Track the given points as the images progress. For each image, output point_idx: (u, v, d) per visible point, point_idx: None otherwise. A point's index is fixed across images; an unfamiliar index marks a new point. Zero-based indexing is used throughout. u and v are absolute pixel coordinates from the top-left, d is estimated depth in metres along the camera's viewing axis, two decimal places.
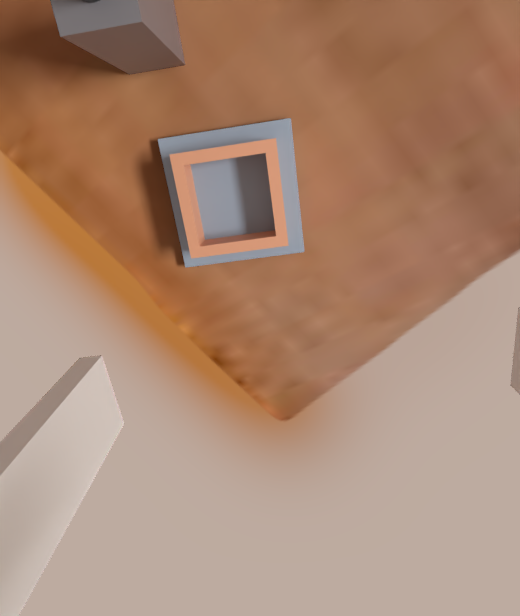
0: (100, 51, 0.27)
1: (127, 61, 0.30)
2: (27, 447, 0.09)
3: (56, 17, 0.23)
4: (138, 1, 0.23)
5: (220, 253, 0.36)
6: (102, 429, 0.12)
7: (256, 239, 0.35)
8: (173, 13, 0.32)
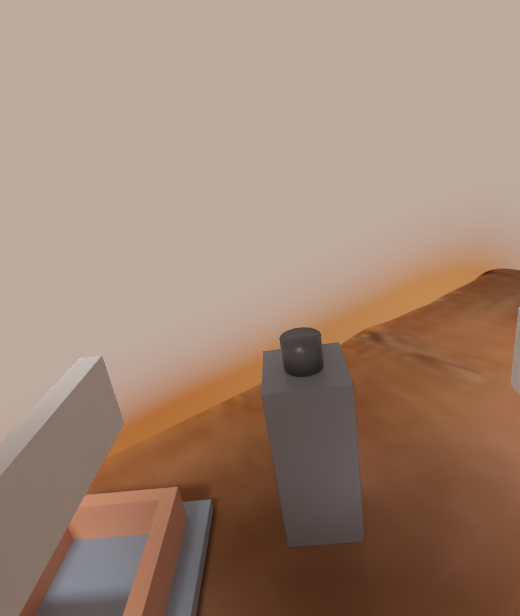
0: None
1: None
2: (27, 447, 0.09)
3: (277, 350, 0.26)
4: (280, 395, 0.22)
5: None
6: (102, 429, 0.12)
7: None
8: (338, 531, 0.25)
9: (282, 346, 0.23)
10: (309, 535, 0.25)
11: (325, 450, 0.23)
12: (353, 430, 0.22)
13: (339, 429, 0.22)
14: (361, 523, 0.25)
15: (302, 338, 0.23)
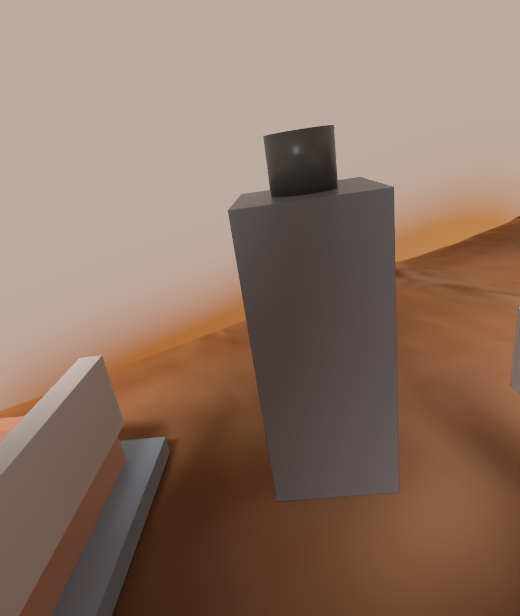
0: None
1: None
2: (27, 447, 0.09)
3: (263, 191, 0.17)
4: (262, 212, 0.12)
5: None
6: (102, 429, 0.12)
7: None
8: (358, 474, 0.16)
9: (267, 143, 0.13)
10: (311, 481, 0.16)
11: (340, 325, 0.13)
12: (389, 284, 0.13)
13: (364, 283, 0.13)
14: (395, 461, 0.15)
15: None
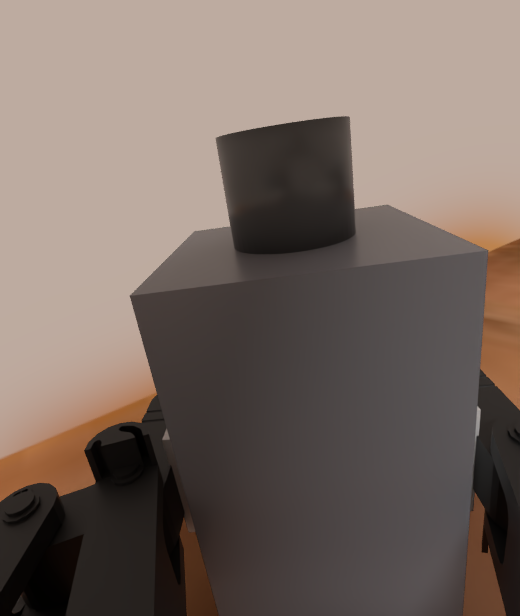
0: None
1: None
2: None
3: (229, 227, 0.10)
4: (202, 299, 0.06)
5: None
6: None
7: None
8: None
9: (222, 152, 0.07)
10: None
11: (363, 499, 0.07)
12: (463, 434, 0.06)
13: (413, 431, 0.06)
14: None
15: None
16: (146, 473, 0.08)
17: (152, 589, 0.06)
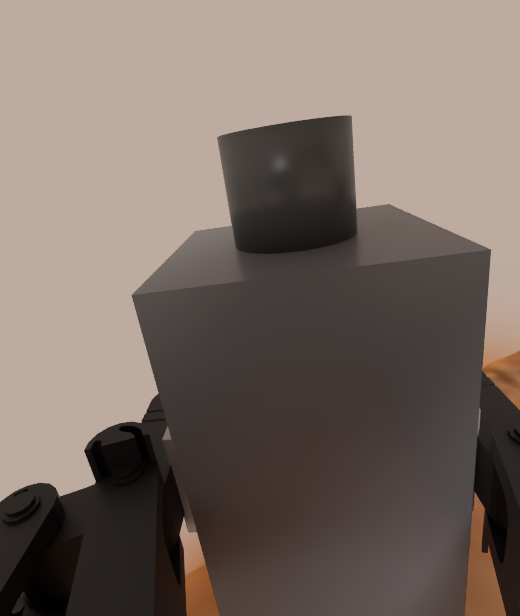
0: None
1: None
2: None
3: (230, 226, 0.10)
4: (204, 299, 0.06)
5: None
6: None
7: None
8: None
9: (223, 151, 0.07)
10: None
11: (365, 499, 0.07)
12: (465, 434, 0.06)
13: (415, 430, 0.06)
14: None
15: None
16: (146, 473, 0.08)
17: (152, 589, 0.06)
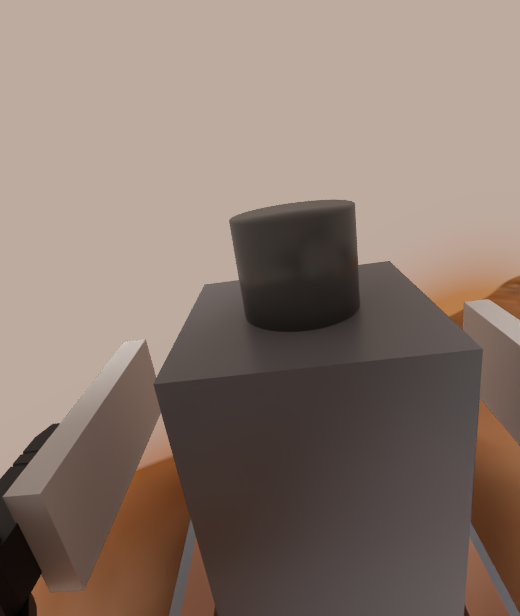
0: None
1: None
2: (94, 418, 0.10)
3: (238, 281, 0.11)
4: (220, 388, 0.06)
5: (197, 544, 0.14)
6: (147, 408, 0.13)
7: None
8: None
9: (235, 236, 0.07)
10: None
11: (367, 559, 0.07)
12: (460, 503, 0.07)
13: (414, 500, 0.07)
14: None
15: (298, 212, 0.07)
16: None
17: None
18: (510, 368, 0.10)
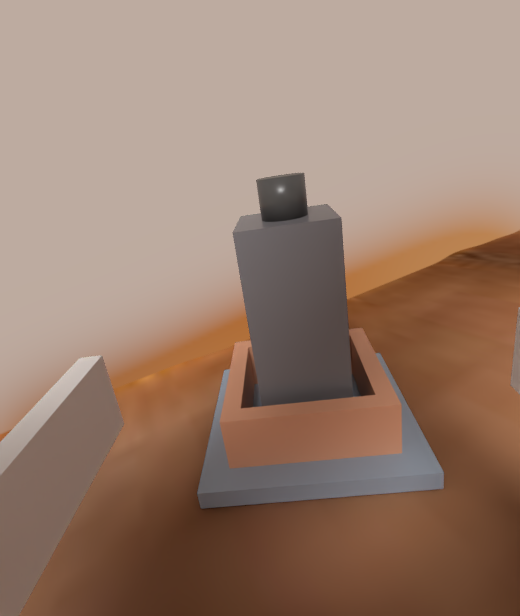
0: None
1: None
2: (27, 447, 0.09)
3: (256, 214, 0.23)
4: (255, 233, 0.18)
5: (233, 361, 0.26)
6: (102, 429, 0.12)
7: (241, 390, 0.22)
8: None
9: (259, 185, 0.19)
10: None
11: (309, 309, 0.20)
12: (341, 281, 0.19)
13: (324, 280, 0.19)
14: None
15: (282, 176, 0.19)
16: None
17: None
18: None
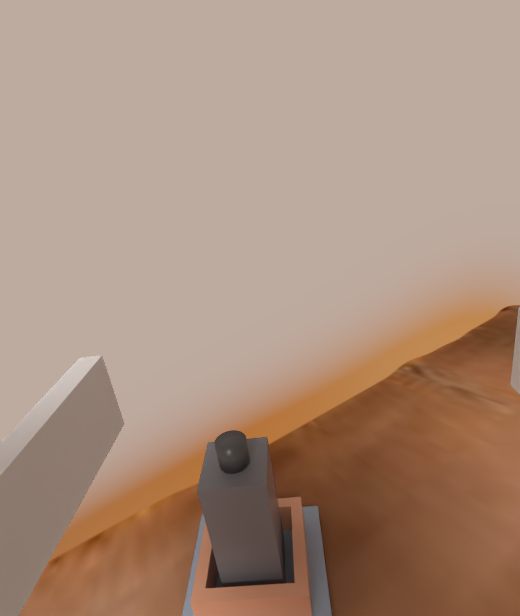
0: None
1: None
2: (27, 447, 0.09)
3: None
4: (211, 491, 0.28)
5: (204, 529, 0.36)
6: (102, 429, 0.12)
7: (208, 566, 0.32)
8: None
9: (215, 449, 0.29)
10: None
11: (249, 529, 0.29)
12: (269, 516, 0.29)
13: (258, 515, 0.29)
14: (282, 582, 0.32)
15: (231, 443, 0.29)
16: None
17: None
18: None
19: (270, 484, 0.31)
